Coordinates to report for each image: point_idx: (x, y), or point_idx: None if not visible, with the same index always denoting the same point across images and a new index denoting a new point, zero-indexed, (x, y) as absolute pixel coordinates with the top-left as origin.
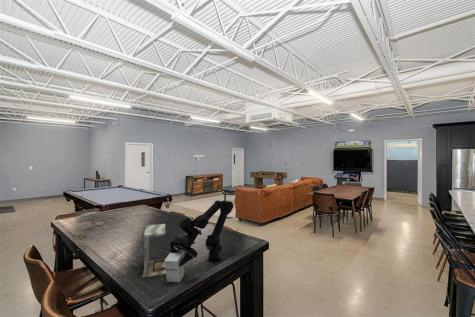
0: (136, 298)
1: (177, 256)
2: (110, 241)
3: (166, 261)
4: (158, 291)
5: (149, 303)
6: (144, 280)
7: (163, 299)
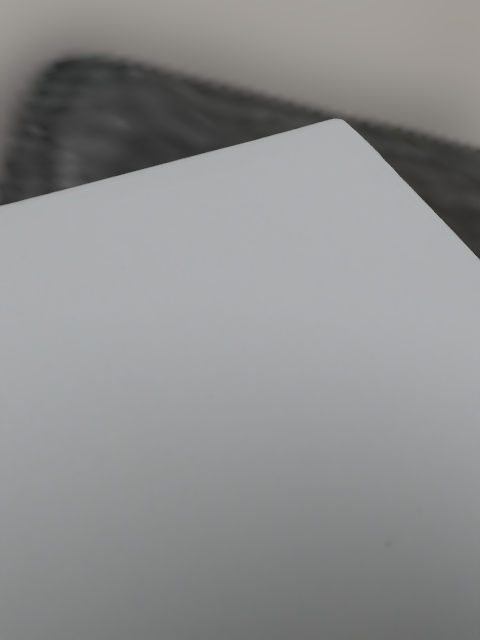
0: (245, 92)
1: (120, 489)
2: None
3: (282, 141)
4: None
5: (106, 88)
6: None
7: (39, 161)
